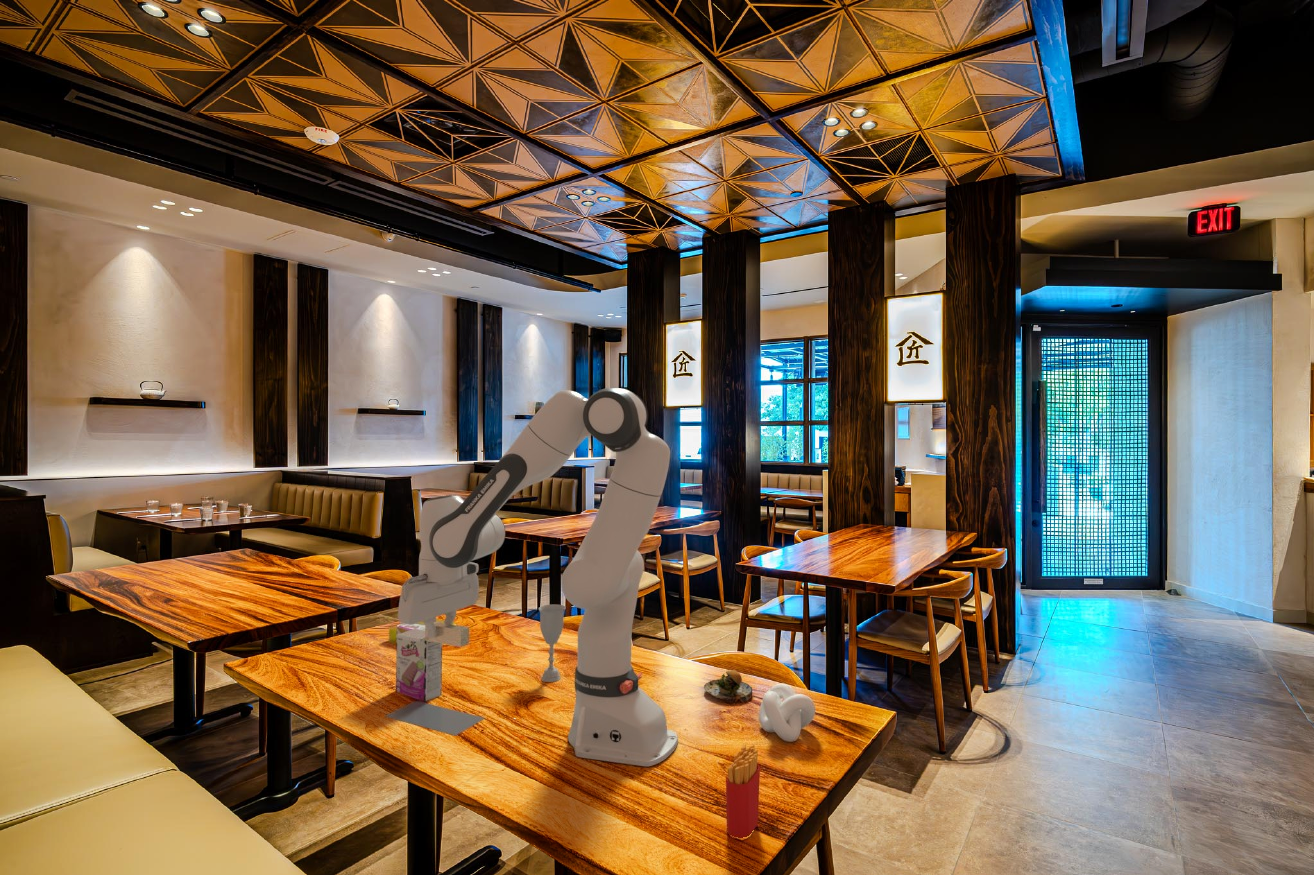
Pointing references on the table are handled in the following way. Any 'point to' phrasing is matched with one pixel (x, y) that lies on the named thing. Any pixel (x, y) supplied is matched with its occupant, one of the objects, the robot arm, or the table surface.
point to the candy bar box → (418, 666)
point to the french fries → (743, 793)
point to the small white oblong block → (440, 635)
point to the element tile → (394, 631)
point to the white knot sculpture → (785, 712)
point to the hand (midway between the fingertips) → (440, 634)
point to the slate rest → (435, 717)
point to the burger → (730, 688)
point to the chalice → (551, 635)
